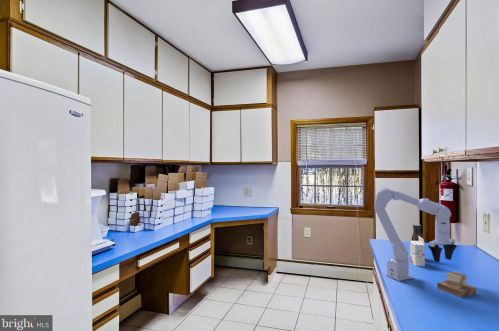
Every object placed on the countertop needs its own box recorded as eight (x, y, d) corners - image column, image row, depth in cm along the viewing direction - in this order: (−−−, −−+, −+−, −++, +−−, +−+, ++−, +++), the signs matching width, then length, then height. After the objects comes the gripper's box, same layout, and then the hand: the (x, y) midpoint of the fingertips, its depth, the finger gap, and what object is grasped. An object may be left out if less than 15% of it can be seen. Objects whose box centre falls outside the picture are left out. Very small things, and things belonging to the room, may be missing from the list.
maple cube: (459, 288, 124) (458, 276, 123) (447, 284, 128) (446, 272, 128) (466, 286, 126) (466, 274, 125) (454, 282, 130) (454, 270, 130)
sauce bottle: (420, 256, 173) (419, 223, 173) (426, 260, 167) (426, 225, 167) (409, 256, 173) (408, 223, 173) (415, 260, 167) (415, 225, 166)
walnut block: (460, 298, 120) (460, 291, 120) (437, 289, 130) (437, 282, 130) (476, 294, 124) (476, 287, 124) (452, 285, 133) (452, 279, 133)
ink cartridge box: (409, 260, 166) (409, 235, 166) (419, 261, 165) (419, 235, 165) (415, 266, 158) (414, 239, 158) (425, 266, 157) (424, 239, 157)
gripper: (439, 234, 130) (439, 265, 130) (461, 231, 135) (461, 260, 135) (425, 231, 136) (425, 260, 136) (446, 228, 141) (446, 256, 141)
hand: (442, 260), depth 136 cm, fingers open, 7 cm apart
